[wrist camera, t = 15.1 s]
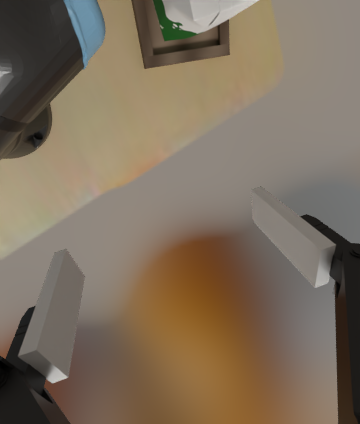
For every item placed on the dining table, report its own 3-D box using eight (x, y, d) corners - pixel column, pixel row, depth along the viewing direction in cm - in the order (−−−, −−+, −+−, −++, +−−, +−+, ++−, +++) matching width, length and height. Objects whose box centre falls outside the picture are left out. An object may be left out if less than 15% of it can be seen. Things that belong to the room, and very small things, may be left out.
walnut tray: (144, 68, 38) (146, 68, 36) (121, -53, 31) (121, -62, 29) (223, 55, 40) (229, 54, 38) (219, -63, 32) (226, -73, 30)
